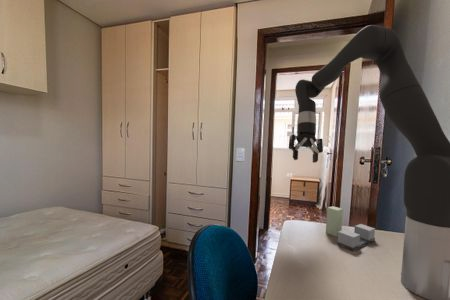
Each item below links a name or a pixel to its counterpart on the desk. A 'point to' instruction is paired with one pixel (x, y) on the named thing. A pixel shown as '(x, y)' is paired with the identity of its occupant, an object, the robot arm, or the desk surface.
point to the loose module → (334, 220)
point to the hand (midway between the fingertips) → (305, 161)
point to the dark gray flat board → (361, 244)
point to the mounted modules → (356, 235)
